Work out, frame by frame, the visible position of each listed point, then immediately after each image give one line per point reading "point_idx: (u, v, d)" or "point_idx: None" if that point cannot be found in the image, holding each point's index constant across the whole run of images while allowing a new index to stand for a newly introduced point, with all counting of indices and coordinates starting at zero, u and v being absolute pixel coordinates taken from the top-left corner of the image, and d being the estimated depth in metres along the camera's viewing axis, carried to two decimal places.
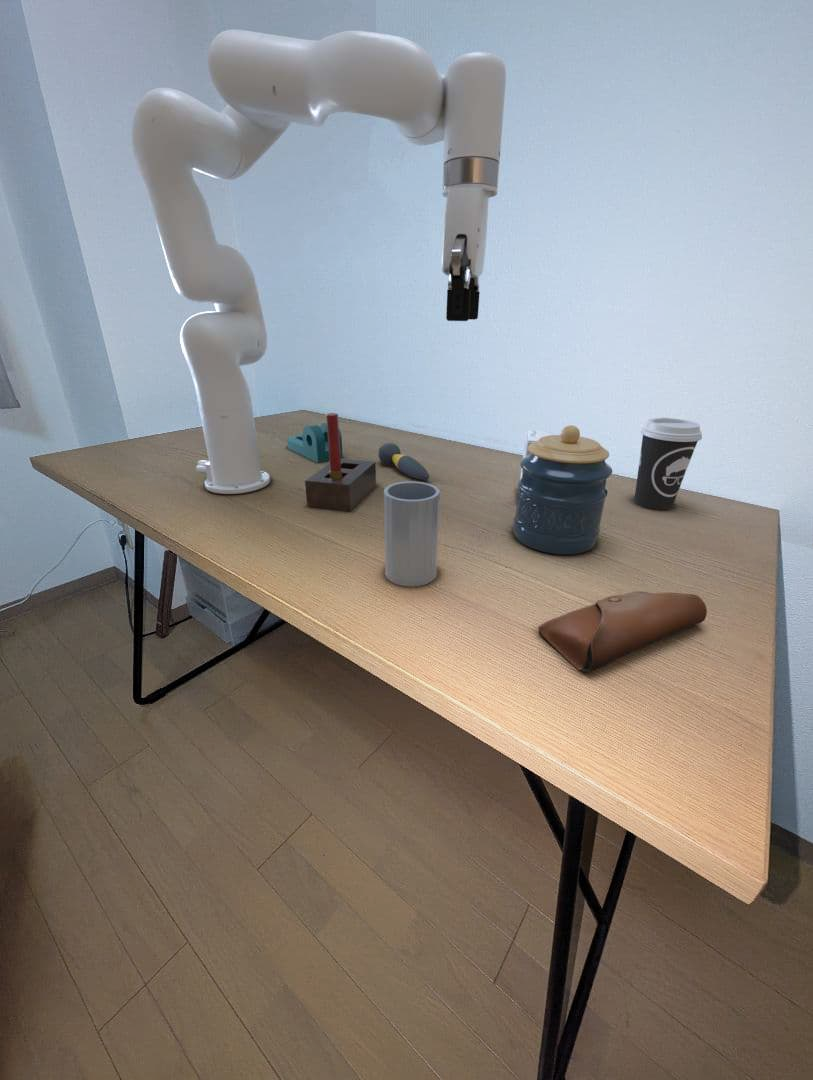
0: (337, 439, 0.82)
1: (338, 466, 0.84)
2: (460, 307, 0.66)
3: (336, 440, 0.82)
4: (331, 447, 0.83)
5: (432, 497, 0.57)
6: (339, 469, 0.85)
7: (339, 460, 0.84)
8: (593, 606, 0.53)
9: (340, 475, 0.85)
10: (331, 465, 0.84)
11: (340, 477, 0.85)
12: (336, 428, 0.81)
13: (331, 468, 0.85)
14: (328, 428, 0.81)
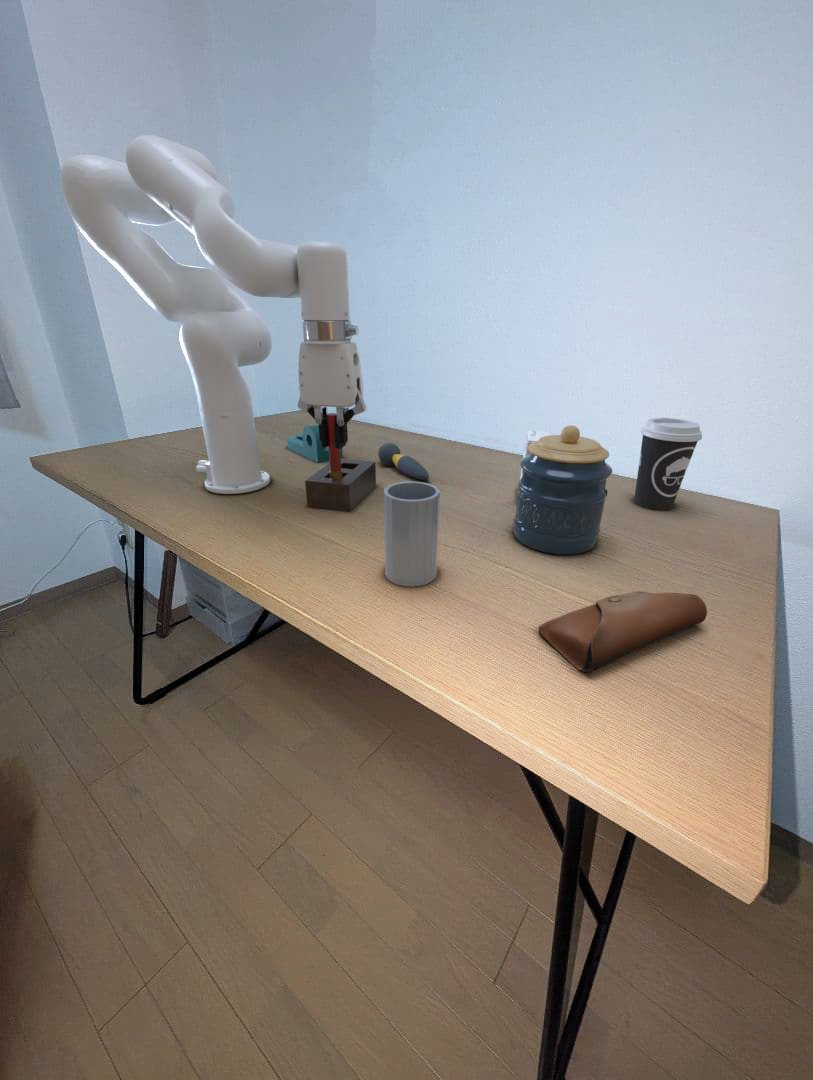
0: None
1: (338, 466, 0.84)
2: None
3: None
4: (331, 447, 0.83)
5: (432, 497, 0.57)
6: (339, 469, 0.85)
7: (339, 460, 0.84)
8: (593, 606, 0.53)
9: (340, 475, 0.85)
10: (331, 465, 0.84)
11: (340, 477, 0.85)
12: None
13: (331, 468, 0.85)
14: (328, 428, 0.81)
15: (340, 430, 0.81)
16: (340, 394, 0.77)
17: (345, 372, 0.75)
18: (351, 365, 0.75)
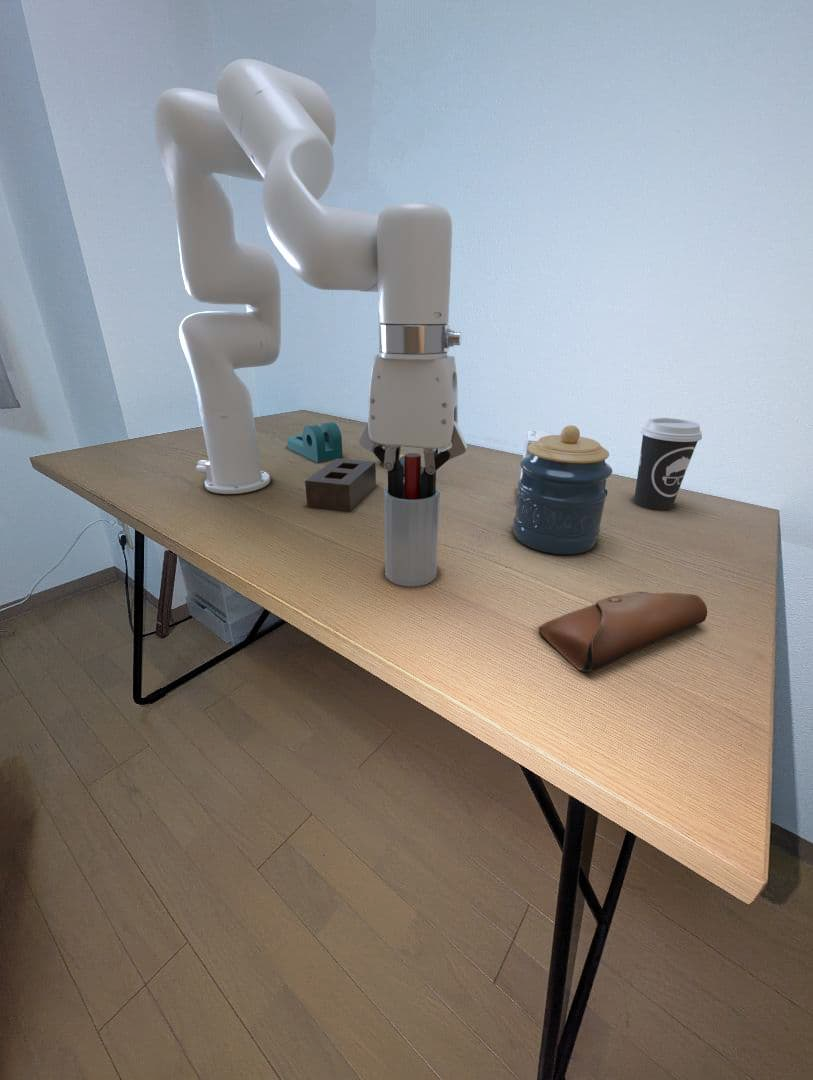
0: (418, 489, 0.58)
1: None
2: None
3: (417, 491, 0.58)
4: None
5: (432, 497, 0.57)
6: None
7: None
8: (593, 606, 0.53)
9: None
10: None
11: None
12: (418, 474, 0.57)
13: None
14: (407, 474, 0.57)
15: (428, 479, 0.57)
16: (430, 431, 0.53)
17: (441, 400, 0.51)
18: (449, 389, 0.51)
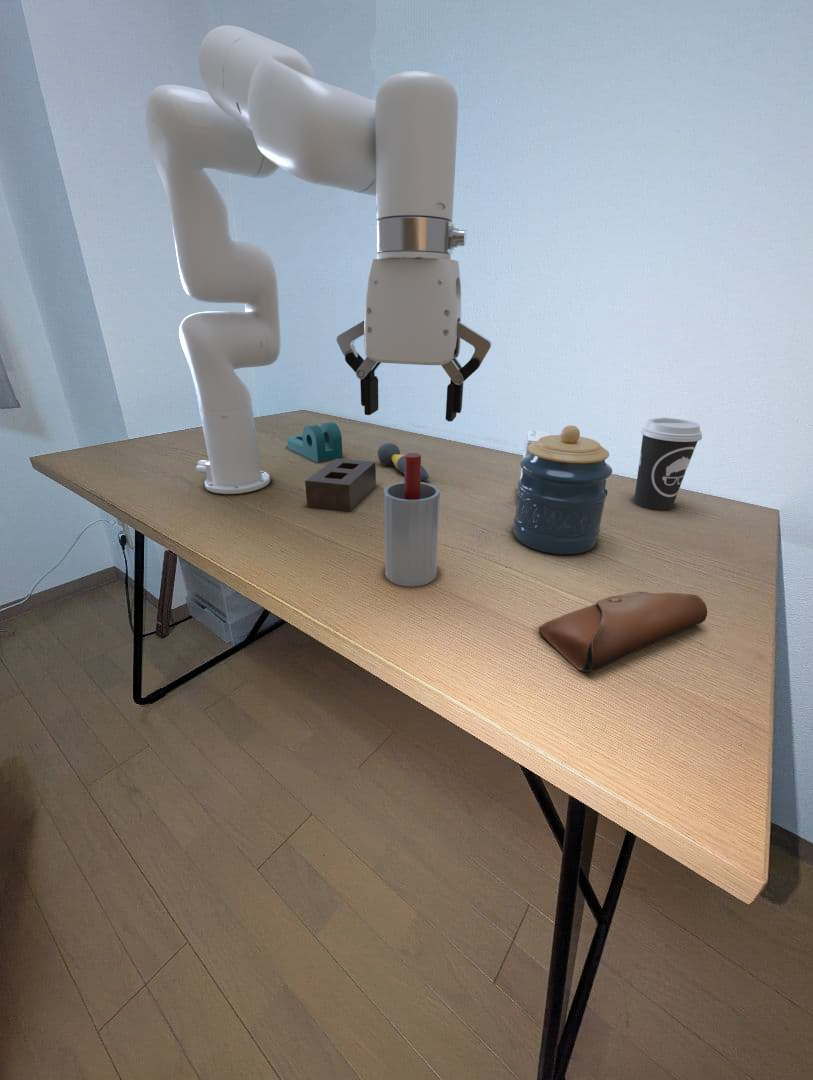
0: (418, 489, 0.58)
1: None
2: None
3: (417, 491, 0.58)
4: None
5: (432, 497, 0.57)
6: None
7: None
8: (593, 606, 0.53)
9: None
10: None
11: None
12: (418, 474, 0.57)
13: None
14: (407, 474, 0.57)
15: (455, 392, 0.52)
16: (431, 343, 0.49)
17: (443, 307, 0.47)
18: (453, 295, 0.47)
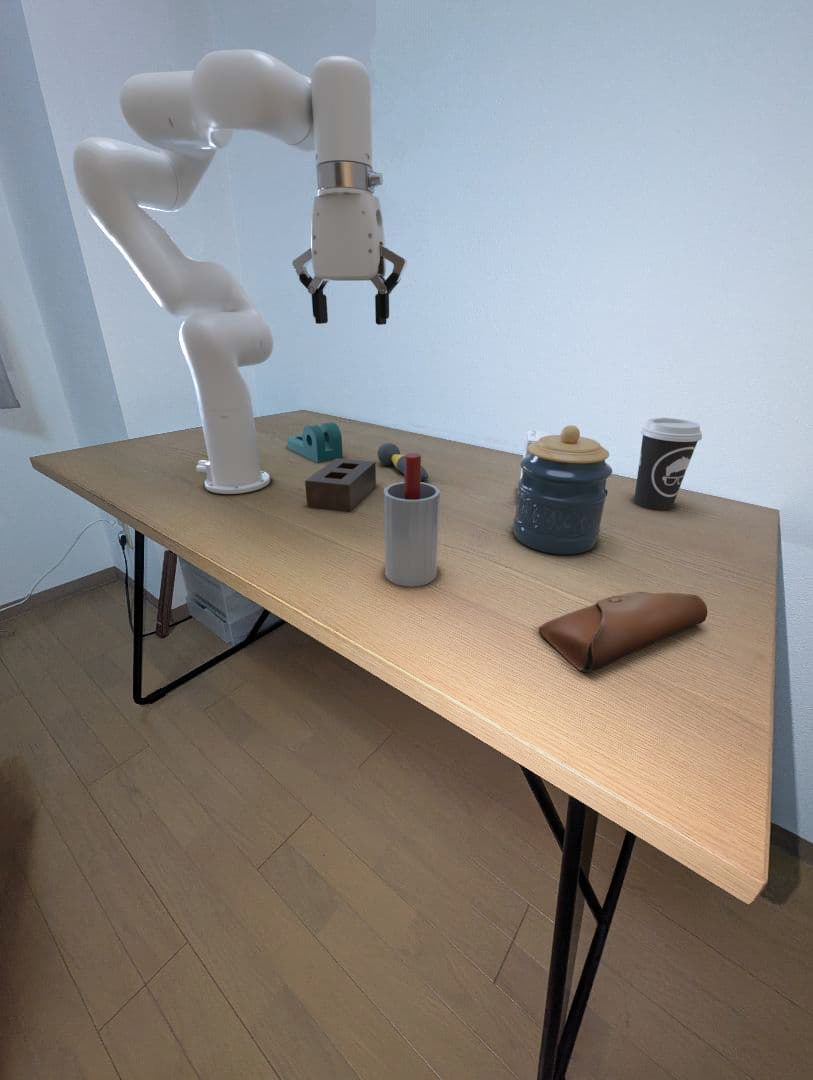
0: (418, 489, 0.58)
1: None
2: None
3: (417, 491, 0.58)
4: None
5: (432, 497, 0.57)
6: None
7: None
8: (593, 606, 0.53)
9: None
10: None
11: None
12: (418, 474, 0.57)
13: None
14: (407, 474, 0.57)
15: (381, 300, 0.68)
16: (360, 260, 0.66)
17: (367, 231, 0.64)
18: (373, 222, 0.64)
